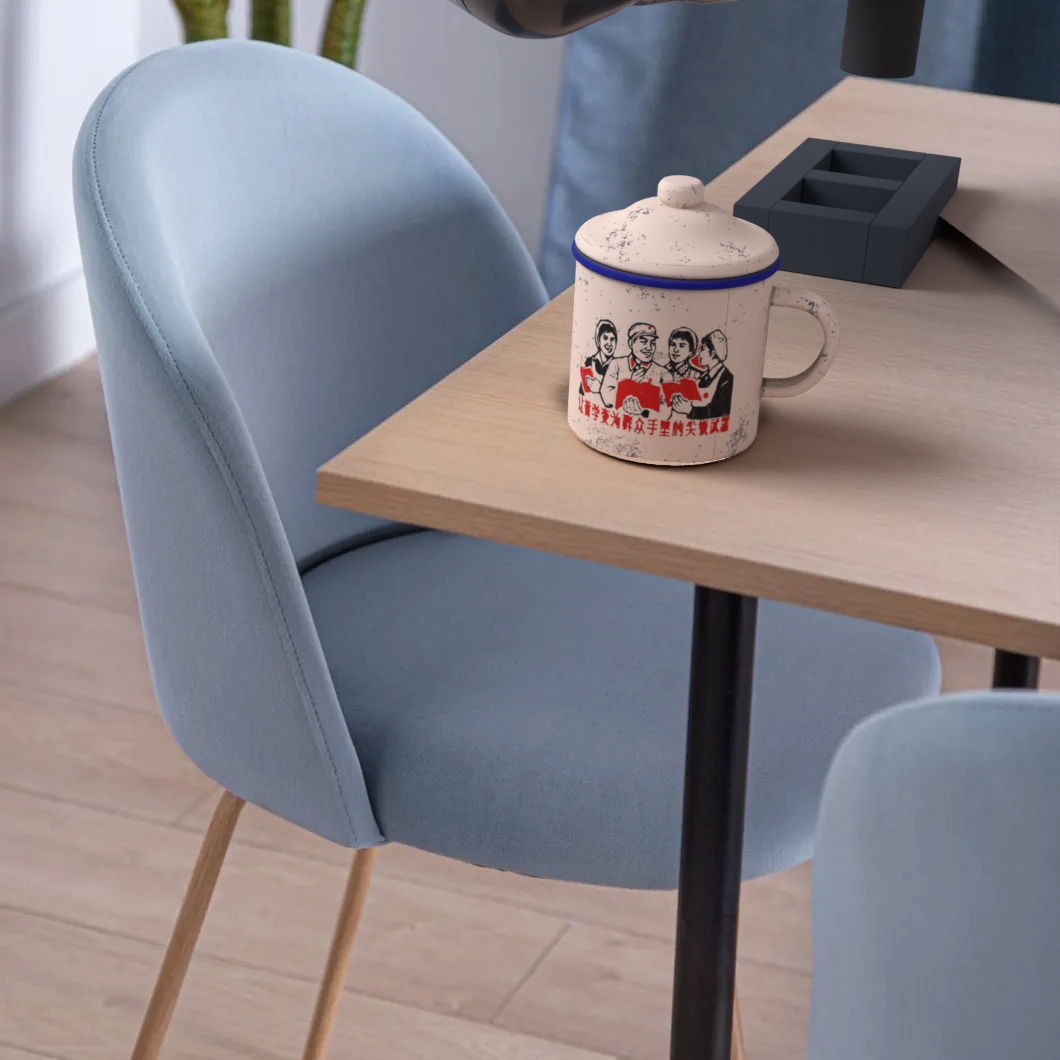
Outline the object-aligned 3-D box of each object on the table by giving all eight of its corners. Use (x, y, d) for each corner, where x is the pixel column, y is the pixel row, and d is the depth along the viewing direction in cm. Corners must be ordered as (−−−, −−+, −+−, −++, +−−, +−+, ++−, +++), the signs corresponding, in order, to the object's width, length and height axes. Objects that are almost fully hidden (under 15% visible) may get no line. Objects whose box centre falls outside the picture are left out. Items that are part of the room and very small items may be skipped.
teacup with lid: (543, 457, 77) (556, 197, 72) (581, 384, 85) (595, 144, 80) (819, 492, 75) (852, 226, 70) (831, 413, 83) (862, 170, 78)
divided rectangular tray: (953, 210, 116) (961, 157, 114) (900, 288, 100) (908, 229, 99) (802, 188, 119) (807, 137, 117) (727, 261, 104) (733, 203, 102)
